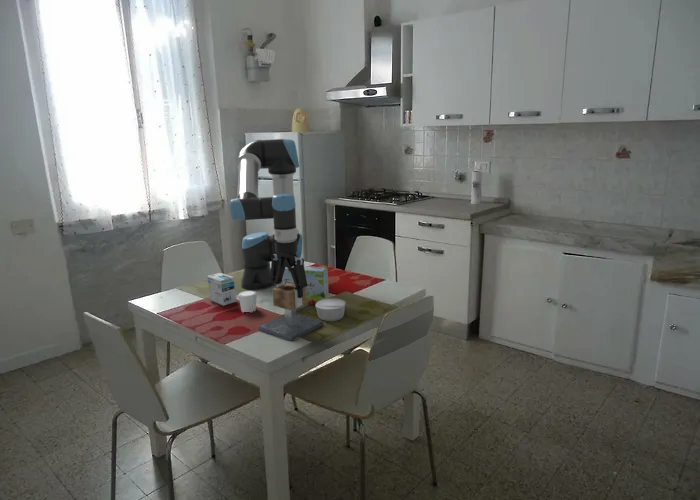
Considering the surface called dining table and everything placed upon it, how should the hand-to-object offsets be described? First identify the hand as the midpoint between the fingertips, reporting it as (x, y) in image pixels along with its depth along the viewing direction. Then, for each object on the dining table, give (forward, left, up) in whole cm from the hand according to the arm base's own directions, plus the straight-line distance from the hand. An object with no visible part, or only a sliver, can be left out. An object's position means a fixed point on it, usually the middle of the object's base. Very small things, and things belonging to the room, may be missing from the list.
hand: (289, 303), depth 167 cm
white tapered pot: (-26, +3, -9) cm, 28 cm away
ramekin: (+5, +16, -9) cm, 19 cm away
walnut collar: (0, 0, 0) cm, 0 cm away
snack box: (-14, +21, -9) cm, 27 cm away
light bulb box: (-43, +4, -9) cm, 44 cm away
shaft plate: (0, 0, -9) cm, 9 cm away
